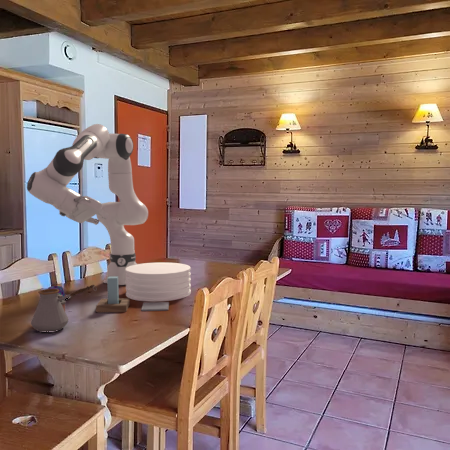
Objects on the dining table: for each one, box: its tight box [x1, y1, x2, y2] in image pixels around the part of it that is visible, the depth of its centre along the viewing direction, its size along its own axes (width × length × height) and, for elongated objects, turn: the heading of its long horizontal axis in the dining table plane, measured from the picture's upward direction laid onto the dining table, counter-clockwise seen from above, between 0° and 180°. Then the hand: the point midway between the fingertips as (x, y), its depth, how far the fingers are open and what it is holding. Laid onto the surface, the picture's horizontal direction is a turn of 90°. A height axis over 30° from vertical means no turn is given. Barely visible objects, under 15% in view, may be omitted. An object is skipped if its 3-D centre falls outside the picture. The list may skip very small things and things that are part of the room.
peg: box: [106, 276, 120, 304], centre depth 175 cm, size 4×4×12 cm
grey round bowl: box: [47, 285, 72, 301], centre depth 190 cm, size 12×12×5 cm
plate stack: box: [125, 262, 192, 302], centre depth 200 cm, size 28×28×12 cm
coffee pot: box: [30, 284, 97, 332], centre depth 149 cm, size 21×12×15 cm, turn 87°
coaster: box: [141, 301, 170, 312], centre depth 177 cm, size 10×10×1 cm
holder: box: [95, 297, 131, 313], centre depth 176 cm, size 11×11×2 cm
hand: (102, 220), depth 177 cm, fingers open, 8 cm apart
